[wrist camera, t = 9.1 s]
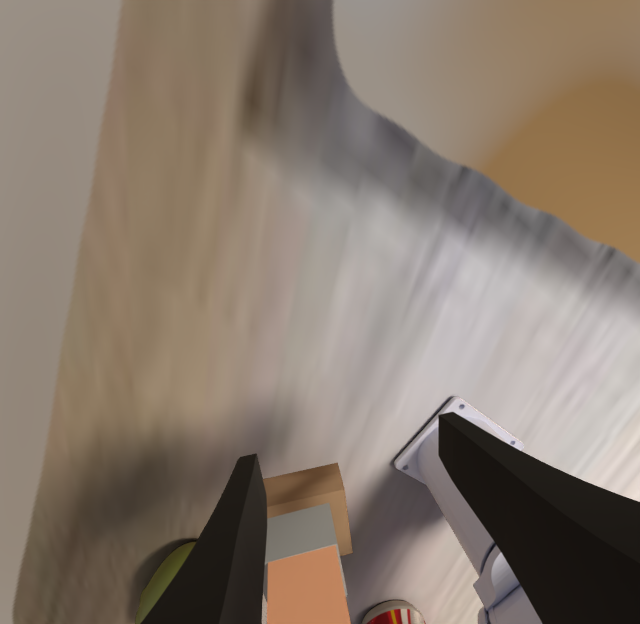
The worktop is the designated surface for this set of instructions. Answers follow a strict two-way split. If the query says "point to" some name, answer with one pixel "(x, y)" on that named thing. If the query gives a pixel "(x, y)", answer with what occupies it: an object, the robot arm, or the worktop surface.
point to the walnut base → (311, 497)
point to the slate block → (299, 536)
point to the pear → (162, 580)
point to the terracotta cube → (307, 589)
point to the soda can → (394, 614)
